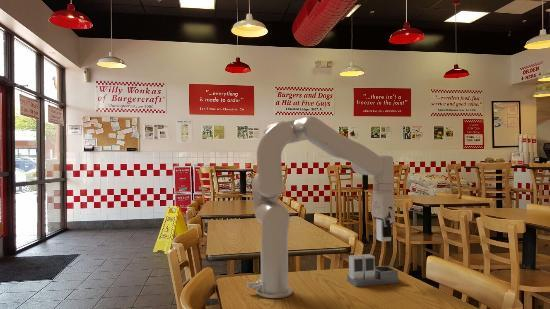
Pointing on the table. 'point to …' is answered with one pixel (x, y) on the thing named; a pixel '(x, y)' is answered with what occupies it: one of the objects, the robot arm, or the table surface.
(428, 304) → the table surface
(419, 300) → the table surface
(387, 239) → the pale grey block
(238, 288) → the table surface
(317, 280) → the table surface
